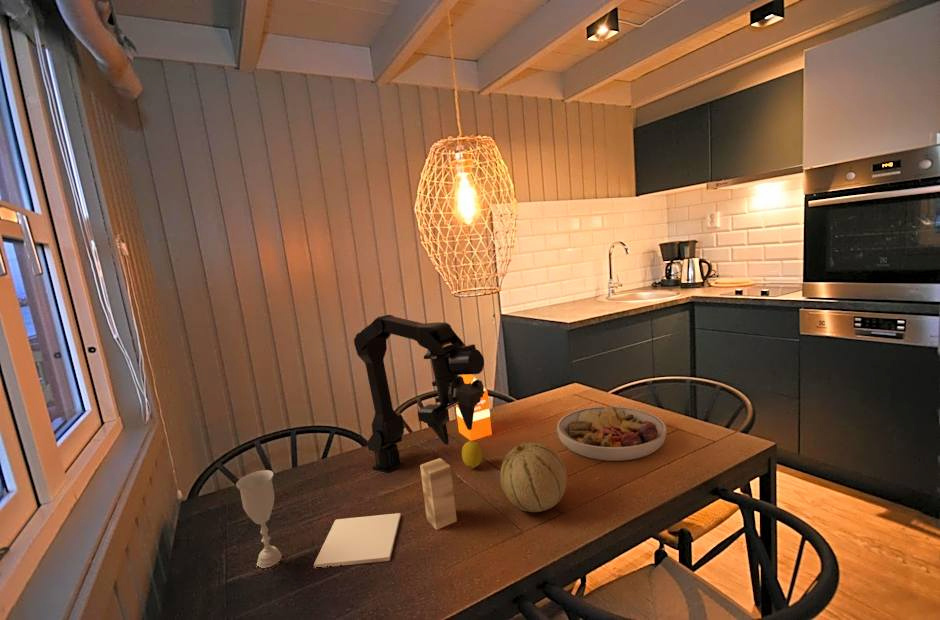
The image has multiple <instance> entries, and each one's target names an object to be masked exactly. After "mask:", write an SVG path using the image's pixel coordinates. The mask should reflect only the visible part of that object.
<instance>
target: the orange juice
mask: <svg viewBox="0 0 940 620" xmlns="http://www.w3.org/2000/svg"><path fill="white" fill-rule="evenodd" d="M460 376H462V378H463V380H464V383H466V384H469V383H471V384H472V383H473V381H475V380H478V379H477V377H476V376H475V375H474V374H468V375H460ZM484 392H485V393H484V394H483V397H482V398H481V400H480V402H479V403H478V404H477V405H476V406H475V409H474V415H473V423H472V429H471V430H468V429H467V427H466V425H465V423H464V420H463V417H462V415H461V412H460V410H459V407H458V404H457V405H455V408H456V409H455V410H456V418H457V419H456V420H457V426H458V433H459V434H461V435H462V436H463V437H465V438H466V439H468V441H470V440H472V441H476V440H478V439H481V438H485V437H487V436H491V435H493V434H492V433H493V432H492V425H491V411H490V404H489V395H488V394H489V393H488V389H486V388H485V387H484Z"/></svg>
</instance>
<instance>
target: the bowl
mask: <svg viewBox="0 0 940 620" xmlns="http://www.w3.org/2000/svg"><path fill="white" fill-rule="evenodd" d="M556 431H557V435H558V438H559V440H560V441H561V443H562V444H563V445H564V446H565V447H566V448H568V449H569V451H570V450H571V451H572V452H574V453H575V454H578V455H580V456H583V457H586V458H589V459H593V460H600V461H607V462H608V461H610V462H611V461H613V462H617V461H618V462H619V461H629V460H631V461H632V460H636V459H637V460H638V459H639V458H644V457H646V456H649V455H650V454H652V453H655V451H657V450H658V449H660V448H661V446H662V445H664V442H665V440H666V437H667V426H666V423H665V422H664V421H663V420H662V419H661V418H660V417H658V416H657V415H655V414H653V413H650V412H648V411H644V410H641V409H638V408H632V407H625V406H612V405H611V406H593V407H586V408H581V409H578V410H575V411H571V412H569V413H568V414H566V415H564V416H562V417H561V418H560V419H559V420H558V422H557V425H556Z"/></svg>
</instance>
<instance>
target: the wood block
mask: <svg viewBox="0 0 940 620" xmlns="http://www.w3.org/2000/svg"><path fill="white" fill-rule="evenodd" d="M419 467H420V477H421V484H422V491H423V499H424V507H425V508H424V509H425V516H426V520H427V521H428V522H429V523H430V525H431V526H432V527H433V528H434V529H435V530H436V531H438V530H440V529H442V528H444V527H446V526H449V525H451V524H454V523H456V522H458V521H457V520H458V519H457V512H456V503H455V494H454V493H455V492H454V485H453V476H452V468H451V465H450V464H448V462H446V461H445V460H444V459H442V458H440V457H439V458H436V459H433V460H430V461H428V462H425V463H422V464H420V466H419Z"/></svg>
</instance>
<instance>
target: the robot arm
mask: <svg viewBox="0 0 940 620" xmlns="http://www.w3.org/2000/svg"><path fill="white" fill-rule="evenodd" d="M392 335H395V336H398V337H402V338H405V339H410V340H413V341H415V342H417V344H418V345H419V346H420V347H422V348H424V349H426V350H427V351H426V353H425V354H424V356H423V359H424V360H430V363H431V367H432V372H433V378H434V381H431V385H432V387H436V392H437V396H438V397H436V398H434V399H435V403H437V404H433V403H432V404H431V403H429V404H427V405H425V406H423V407H421V408H419V409H418V411H417V417H418V418H417V419H418V421H419V422H423V423H424V424H428V426H429V427H430V428H431V429H432V430H433V431H434V432H435V434H436V435H437V437H438V438H439V440H441V442H442V444H444V445H445V446H446V445H447V446H448V445H449V444H450V442H449V434H448V428H447V423H448V420H449V417H448V416H447V415H448V411H447V410H449V409H451V408H453V407H456V405H457V404H458V407H459V410H460V412H461V415H462V417H463V420H464V423H465V425H466V427H467V429H468V430H471V429H472V423H473V415H474V409H475V406H476V405H477V404H478V403H479V402H480V400H481V398H482V397H483V394H484V393H485V392H484V388H485V386H484V385H483V381H482V380H481V379H477V380H475V381H473V383H472V384H471V383H469V384H466V383H464V380H463V378H462V376H461V375H468V374H471V375H479V374H481V372H482V371H484V366H485V359H484V356H483V354H482V353H481V351H480V350H479V349H477V348H476V344H469V345H466V344H465V342H463V341H462V339H461V338H460V337H459V336H458V335H457V333H456V332H455V331H454V330H453V328H452V326H451V325H450V324H449V323H448V322H428V323H426V322H425V323H423V322H419V321H415V320H410V319H405V318H400V317H398V316H394V315H392V314H385V315H381V316H377V317H376V318H375V319H374V320H372V322H371V323H370V324H369V325H367V326H366V327H364V329H362V330H361V331H360V332H358V333H357V334H355V337H354V339H353V345H354V348H355V351H356V354H357V356H358V357H359V358H360V360H362V362H363V363H364V364H365V368H366V369H365V370H366V374H367V379H368V384H369V389H370V393H371V398H372V404H373V408H374V417H373V419H372V423H371V432H372V434H371V435H370V437H369V438H368V440H367V442H366V446H367V448H368V451H372V452H373V453H374V458H375V465H373V466H372V467H371V468H372V470H377V471H379V472H380V471H381V472H383V473H391V472H392V471H393V470H395V469H396V468H398V467H400V466H401V465H403V464H404V460H402V459H401V458H400V451H399V449H398V443H400V442H402V439H403V434H404V432H405V430H404V429H405V428H406V427H405V424H404V421H403V416H402V414H398V413H397V412H396V411H395V410H394V407H393V401H392V398H391V396H392V395H391V392H390V388H389V387H390V386H389V383H388V376H387V372H386V371H387V370H386V366H385V361H384V359H385V356H386V352H387V347H388V346H387V345H388V344H387V340H388V339H389V338H390V337H391V336H392ZM438 403H439V404H438Z"/></svg>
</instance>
